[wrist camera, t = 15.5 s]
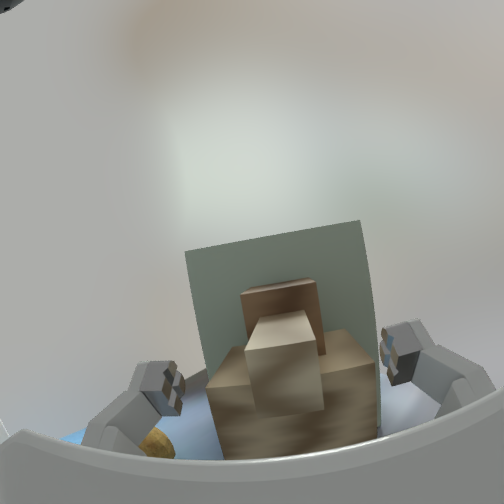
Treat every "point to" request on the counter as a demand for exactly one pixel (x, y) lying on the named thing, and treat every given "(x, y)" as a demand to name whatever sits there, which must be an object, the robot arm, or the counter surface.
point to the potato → (157, 445)
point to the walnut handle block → (284, 347)
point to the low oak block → (299, 425)
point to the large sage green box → (279, 270)
